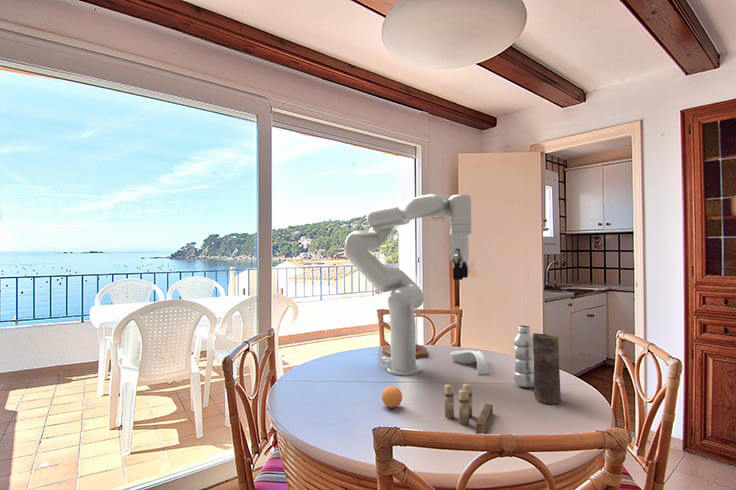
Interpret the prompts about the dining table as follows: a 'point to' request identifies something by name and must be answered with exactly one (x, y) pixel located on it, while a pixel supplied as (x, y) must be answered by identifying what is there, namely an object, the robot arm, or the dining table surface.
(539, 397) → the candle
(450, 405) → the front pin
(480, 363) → the spoon rest
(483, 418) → the brown wooden bar
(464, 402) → the pin
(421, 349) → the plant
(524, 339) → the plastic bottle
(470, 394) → the pin
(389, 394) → the ball
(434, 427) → the dining table surface
